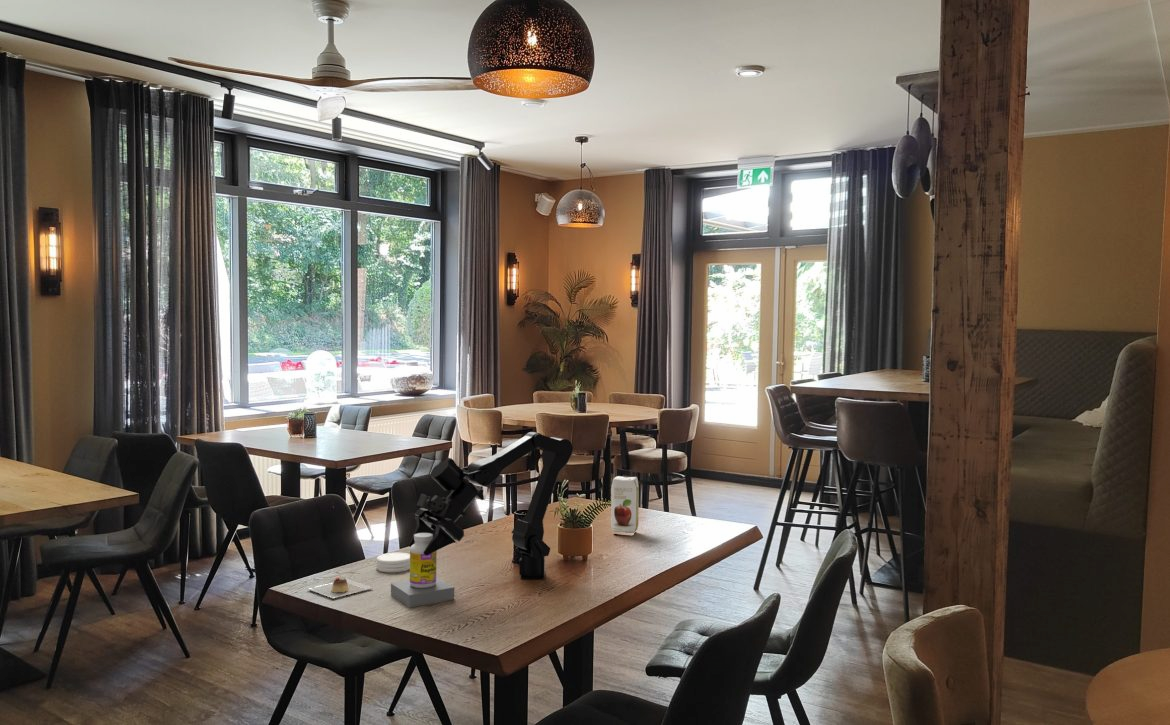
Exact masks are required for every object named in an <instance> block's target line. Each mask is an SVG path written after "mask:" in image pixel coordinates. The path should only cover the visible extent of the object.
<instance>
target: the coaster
mask: <svg viewBox="0 0 1170 725" xmlns="http://www.w3.org/2000/svg"><path fill="white" fill-rule="evenodd" d="M375 561H376V570H377V571H378V572H382V573H389V574H391V573H392V574H393V573H402V572H406V571H410V553H407V552H387V553H383V554H380V555H378V556H377V557H376V560H375Z"/></svg>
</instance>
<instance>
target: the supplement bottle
mask: <svg viewBox="0 0 1170 725" xmlns="http://www.w3.org/2000/svg"><path fill="white" fill-rule="evenodd" d="M433 534H434V533H433ZM433 534H431V533H417V534H415V535H414V541H415V544H413V545H412V546H411V547H410V548H409V554H410V569H409V580H410V585H411V586H412V587H415V588H428V587H432V586H434V585H435V584H436V577H437V552H438V550H437V551H435V552H433V553H431V554H429V555H427V556H426V555H425V554H424V553H423V552H424V551H425V549H426V547H427V546H428V544H429V543H430V541H431V540H432V538H433V537H434V535H433Z"/></svg>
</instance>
